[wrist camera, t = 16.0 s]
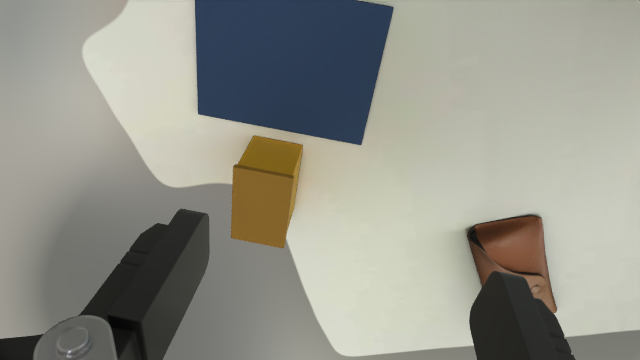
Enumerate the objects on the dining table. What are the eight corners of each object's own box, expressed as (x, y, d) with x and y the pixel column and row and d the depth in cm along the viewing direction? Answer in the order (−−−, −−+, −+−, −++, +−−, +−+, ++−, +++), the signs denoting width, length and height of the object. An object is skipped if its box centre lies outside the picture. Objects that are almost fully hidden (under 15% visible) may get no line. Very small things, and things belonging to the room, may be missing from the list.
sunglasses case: (562, 313, 52) (550, 357, 49) (507, 300, 57) (491, 339, 54) (541, 211, 44) (524, 254, 41) (479, 206, 49) (459, 244, 45)
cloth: (393, 7, 35) (393, 7, 35) (361, 143, 43) (360, 145, 43) (195, -30, 35) (194, -30, 35) (199, 113, 43) (198, 114, 43)
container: (304, 143, 44) (293, 178, 38) (295, 209, 49) (283, 248, 43) (252, 133, 44) (233, 167, 38) (248, 199, 49) (230, 238, 43)
